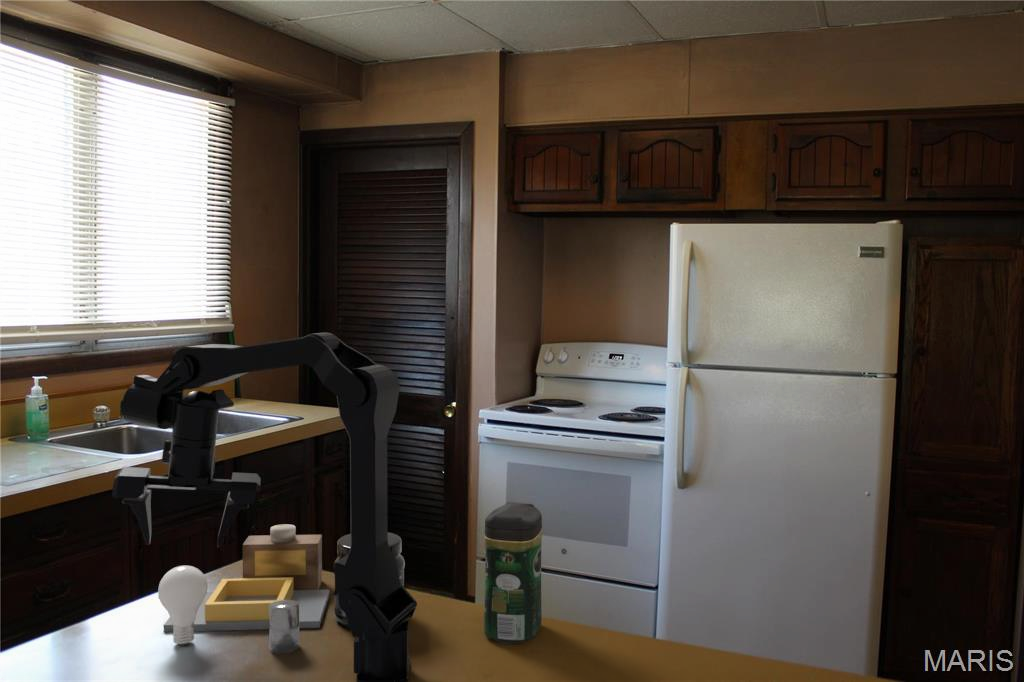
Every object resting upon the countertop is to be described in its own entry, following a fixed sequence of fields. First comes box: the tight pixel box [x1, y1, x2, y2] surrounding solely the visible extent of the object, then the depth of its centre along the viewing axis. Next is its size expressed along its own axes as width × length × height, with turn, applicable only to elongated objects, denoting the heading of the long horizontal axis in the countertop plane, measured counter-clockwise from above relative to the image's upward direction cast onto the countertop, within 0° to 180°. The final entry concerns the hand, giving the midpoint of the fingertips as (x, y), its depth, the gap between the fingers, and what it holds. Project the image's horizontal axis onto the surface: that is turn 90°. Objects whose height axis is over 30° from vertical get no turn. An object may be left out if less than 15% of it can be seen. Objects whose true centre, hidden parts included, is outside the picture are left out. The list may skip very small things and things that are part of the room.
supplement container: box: [333, 532, 406, 628], centre depth 129 cm, size 10×10×12 cm
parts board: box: [163, 577, 330, 633], centre depth 130 cm, size 22×13×4 cm, turn 96°
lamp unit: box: [242, 523, 323, 590], centre depth 141 cm, size 12×5×10 cm, turn 96°
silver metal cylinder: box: [268, 600, 300, 655], centre depth 118 cm, size 4×4×6 cm
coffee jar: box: [483, 501, 543, 645], centre depth 124 cm, size 10×8×19 cm
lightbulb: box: [157, 565, 208, 646], centre depth 119 cm, size 6×6×11 cm
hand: (183, 545), depth 119 cm, fingers open, 9 cm apart
